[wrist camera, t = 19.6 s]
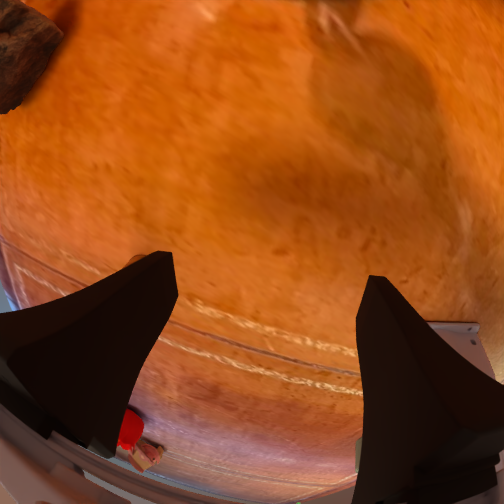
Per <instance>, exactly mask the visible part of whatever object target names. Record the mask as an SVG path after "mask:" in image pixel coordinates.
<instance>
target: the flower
mask: <svg viewBox="0 0 504 504" xmlns="http://www.w3.org/2000/svg"><path fill="white" fill-rule="evenodd" d="M143 429H144V423H143V420H142V419H141V418H140V417H139V416H138V415H137V414H135V413H134V412H133V411H132V410H130V409H127V408H126V412H125V415H124V419H123V422H122V426H121V429H120V434H119V438H118V443H117V446H119V445H121V447H122V448H123V449H125V450H131V452H132V447H133V448H134V450H135V444H136V442H137V441H138V440H139V439H140V437H141V435H142V433H143Z"/></svg>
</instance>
